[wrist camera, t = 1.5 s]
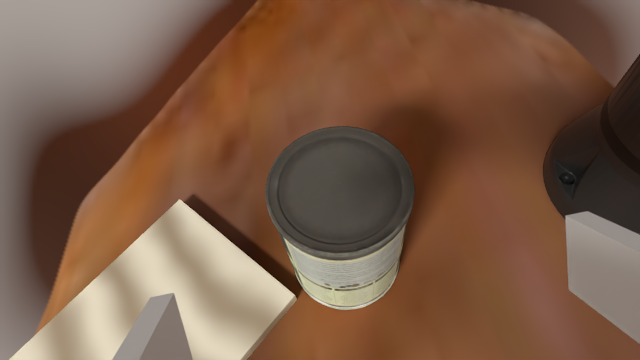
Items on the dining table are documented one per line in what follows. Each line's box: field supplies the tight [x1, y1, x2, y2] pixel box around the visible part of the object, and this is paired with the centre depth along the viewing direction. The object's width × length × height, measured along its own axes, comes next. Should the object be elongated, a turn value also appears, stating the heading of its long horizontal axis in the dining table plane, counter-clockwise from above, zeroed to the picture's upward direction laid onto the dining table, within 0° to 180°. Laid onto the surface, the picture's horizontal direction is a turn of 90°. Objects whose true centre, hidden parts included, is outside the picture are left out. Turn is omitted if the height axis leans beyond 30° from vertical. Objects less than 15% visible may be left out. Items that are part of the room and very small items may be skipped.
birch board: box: [10, 199, 297, 360], centre depth 40 cm, size 20×16×2 cm
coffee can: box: [265, 126, 415, 310], centre depth 36 cm, size 10×10×14 cm
